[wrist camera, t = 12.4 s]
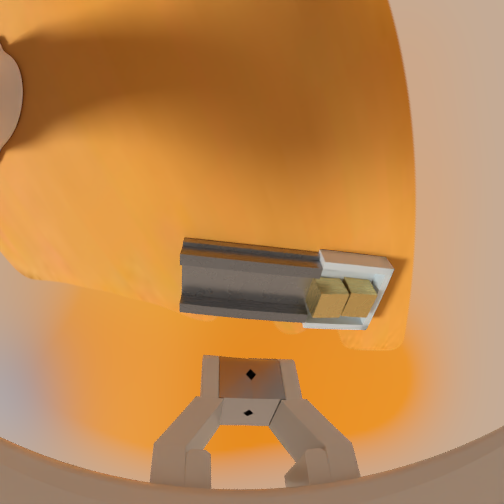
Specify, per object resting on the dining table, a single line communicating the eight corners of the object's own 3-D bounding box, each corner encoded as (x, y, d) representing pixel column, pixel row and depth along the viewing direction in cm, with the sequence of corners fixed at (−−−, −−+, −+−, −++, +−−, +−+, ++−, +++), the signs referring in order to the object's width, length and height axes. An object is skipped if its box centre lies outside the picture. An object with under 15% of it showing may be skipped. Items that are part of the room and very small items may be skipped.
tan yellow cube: (305, 300, 42) (312, 317, 39) (313, 277, 40) (321, 293, 37) (330, 300, 42) (339, 317, 39) (339, 278, 40) (349, 294, 37)
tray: (300, 313, 44) (303, 327, 42) (319, 249, 39) (325, 261, 36) (360, 316, 45) (366, 329, 43) (386, 257, 40) (394, 269, 37)
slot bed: (182, 300, 42) (179, 314, 40) (184, 237, 37) (180, 250, 35) (300, 311, 44) (304, 325, 41) (318, 252, 39) (324, 265, 36)
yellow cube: (334, 299, 42) (341, 316, 39) (344, 276, 40) (351, 292, 37) (359, 301, 43) (366, 317, 40) (369, 279, 41) (377, 295, 38)
